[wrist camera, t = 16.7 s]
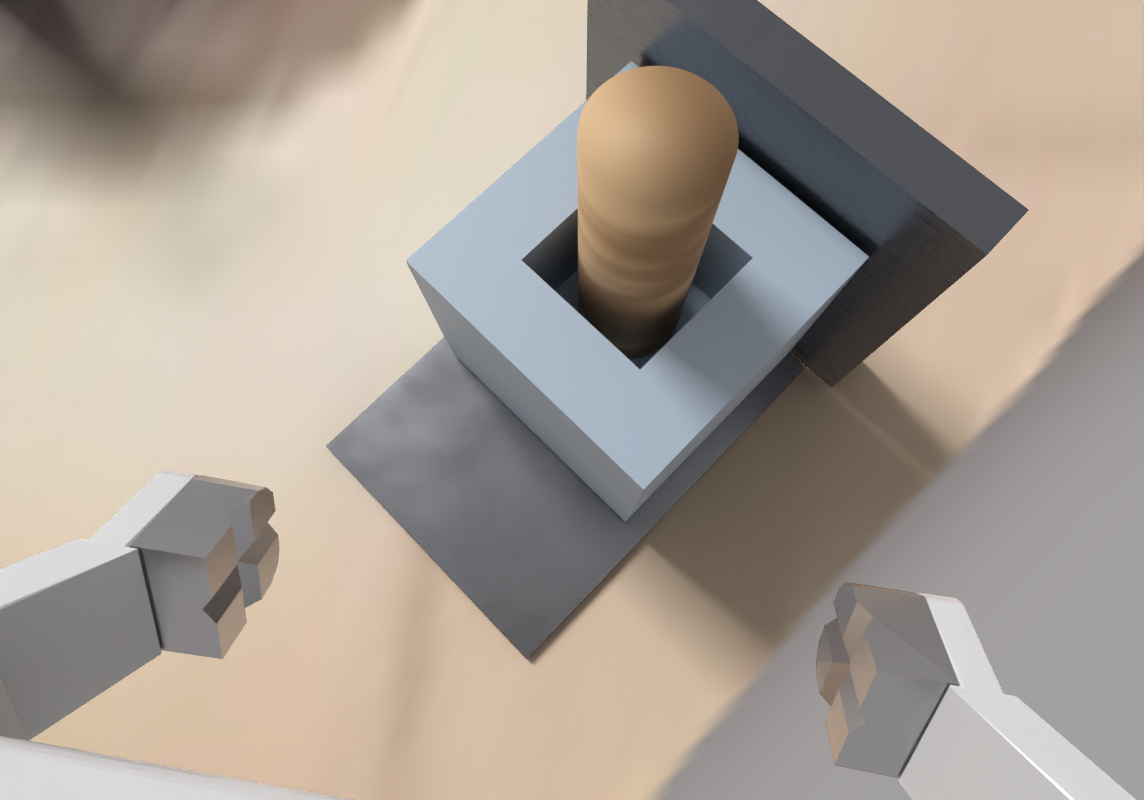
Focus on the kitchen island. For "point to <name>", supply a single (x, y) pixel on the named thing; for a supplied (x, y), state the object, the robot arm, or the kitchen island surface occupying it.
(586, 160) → the dowel
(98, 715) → the kitchen island surface
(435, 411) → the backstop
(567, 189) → the socket block
